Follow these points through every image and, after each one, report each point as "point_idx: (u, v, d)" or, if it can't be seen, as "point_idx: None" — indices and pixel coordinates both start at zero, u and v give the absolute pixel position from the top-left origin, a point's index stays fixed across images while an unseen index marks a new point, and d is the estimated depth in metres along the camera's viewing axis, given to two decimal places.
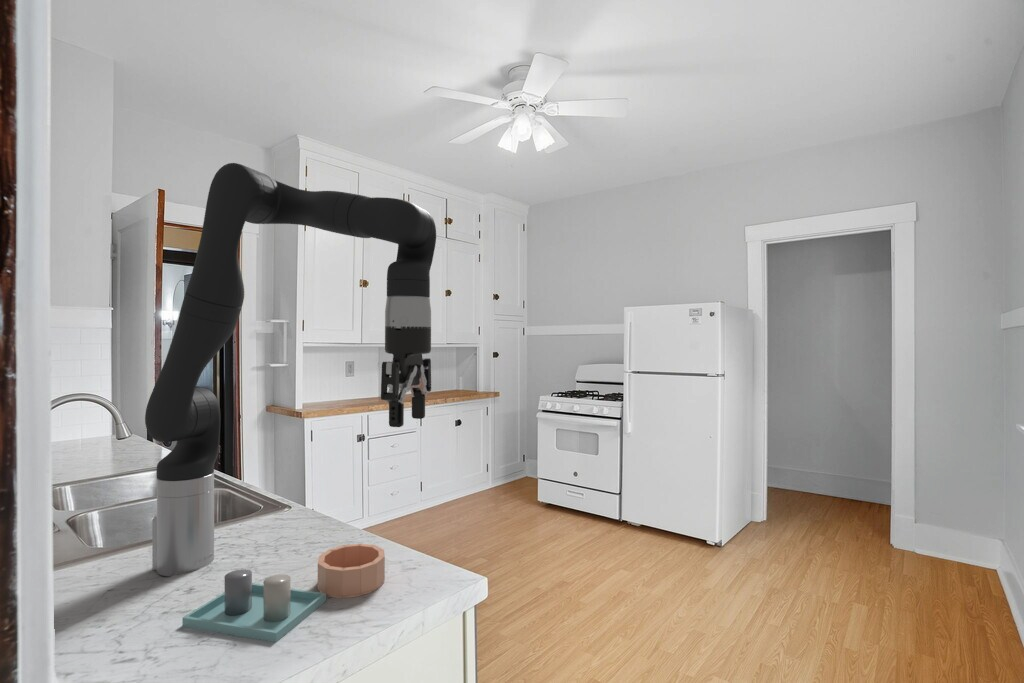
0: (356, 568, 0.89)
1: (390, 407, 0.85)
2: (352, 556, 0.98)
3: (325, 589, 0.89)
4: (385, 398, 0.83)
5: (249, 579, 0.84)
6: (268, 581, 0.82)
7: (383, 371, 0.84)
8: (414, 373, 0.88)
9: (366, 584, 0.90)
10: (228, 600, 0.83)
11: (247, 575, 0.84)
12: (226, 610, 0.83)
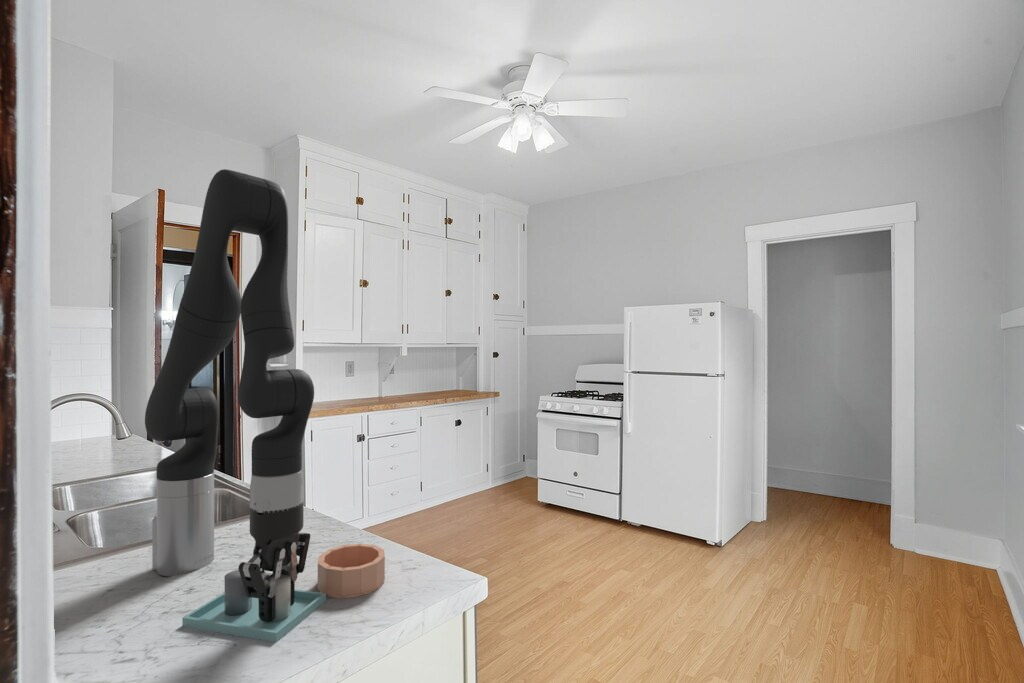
0: (356, 568, 0.89)
1: (259, 602, 0.80)
2: (352, 556, 0.98)
3: (325, 589, 0.89)
4: (251, 596, 0.78)
5: None
6: None
7: (242, 575, 0.77)
8: (282, 558, 0.81)
9: (366, 584, 0.90)
10: (228, 600, 0.83)
11: None
12: (226, 610, 0.83)
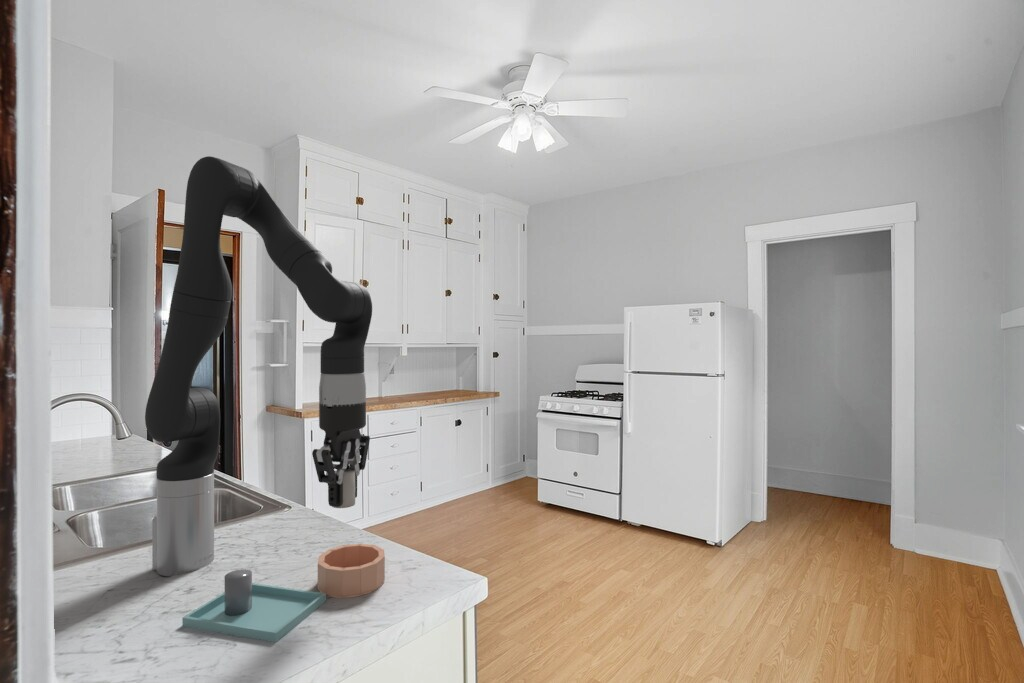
0: (356, 568, 0.89)
1: (329, 488, 0.88)
2: (352, 556, 0.98)
3: (325, 589, 0.89)
4: (323, 481, 0.87)
5: (249, 579, 0.84)
6: (335, 472, 0.91)
7: (315, 460, 0.85)
8: (348, 449, 0.89)
9: (366, 584, 0.90)
10: (228, 600, 0.83)
11: (247, 575, 0.84)
12: (226, 610, 0.83)
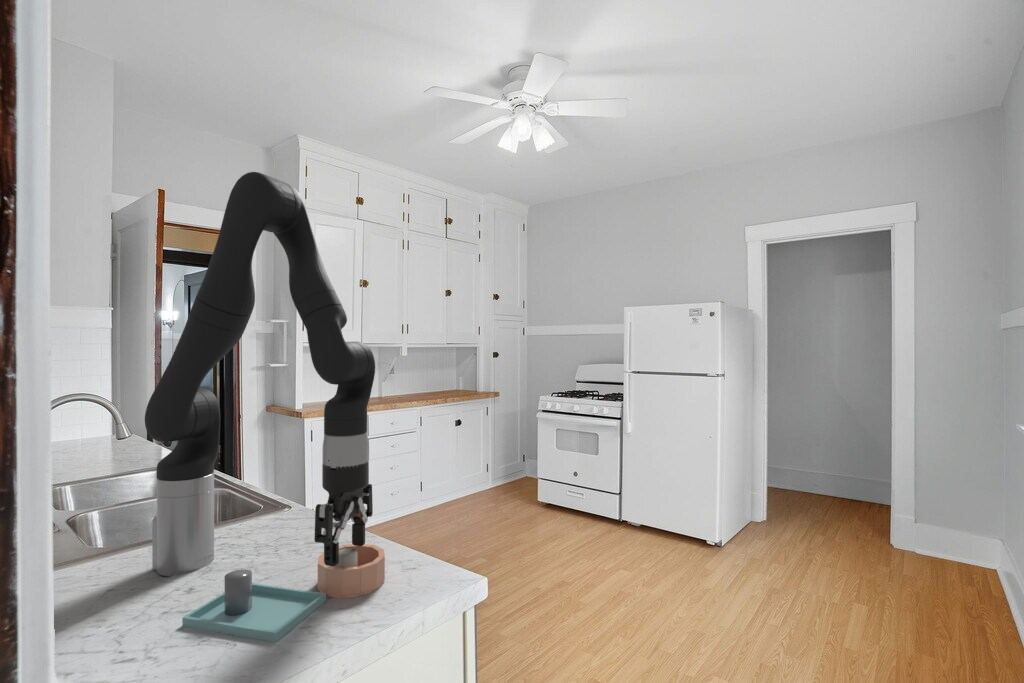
0: (356, 568, 0.89)
1: (325, 547, 0.87)
2: None
3: (325, 589, 0.89)
4: (319, 541, 0.85)
5: (249, 579, 0.84)
6: None
7: (317, 515, 0.86)
8: (350, 509, 0.90)
9: (366, 584, 0.90)
10: (228, 600, 0.83)
11: (247, 575, 0.84)
12: (226, 610, 0.83)
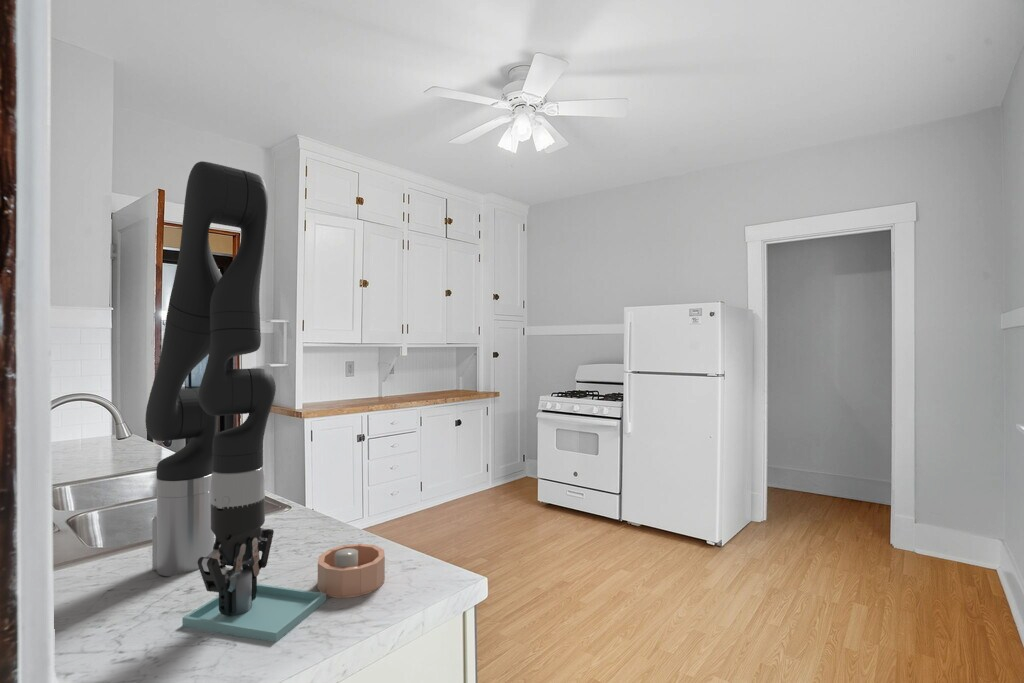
0: (356, 568, 0.89)
1: (220, 596, 0.81)
2: None
3: (325, 589, 0.89)
4: (211, 590, 0.80)
5: (249, 579, 0.84)
6: (339, 553, 0.92)
7: (201, 569, 0.79)
8: (242, 553, 0.83)
9: (366, 584, 0.90)
10: None
11: (247, 575, 0.84)
12: None
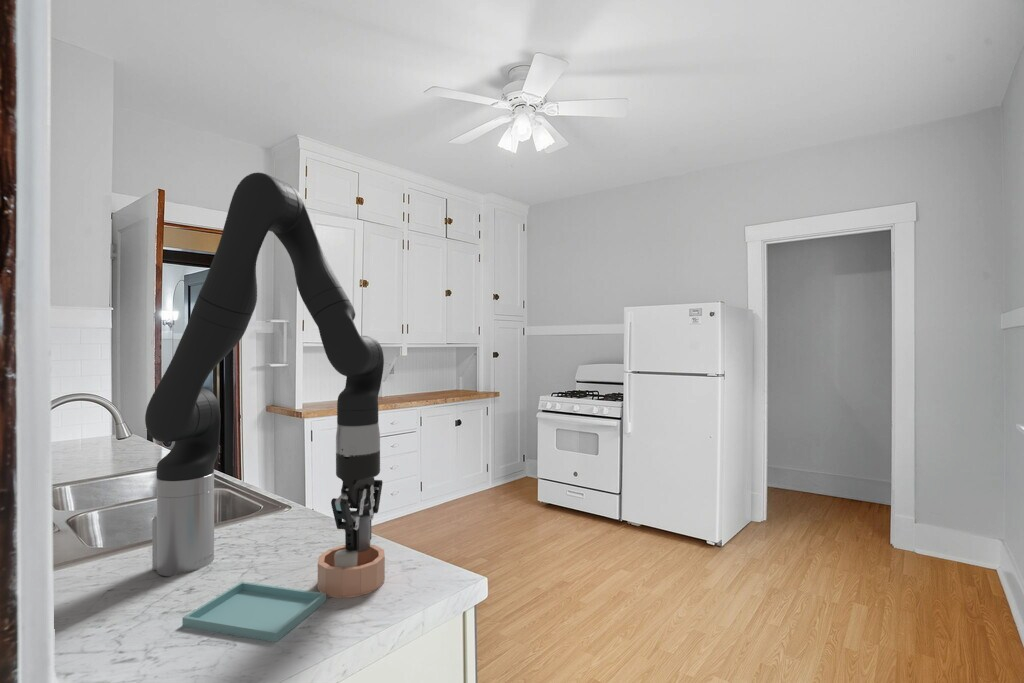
0: (356, 568, 0.89)
1: (346, 534, 0.93)
2: None
3: (325, 589, 0.89)
4: (341, 528, 0.91)
5: (369, 521, 0.96)
6: (338, 554, 0.92)
7: (333, 508, 0.90)
8: (364, 497, 0.94)
9: (366, 584, 0.90)
10: None
11: (367, 517, 0.96)
12: None
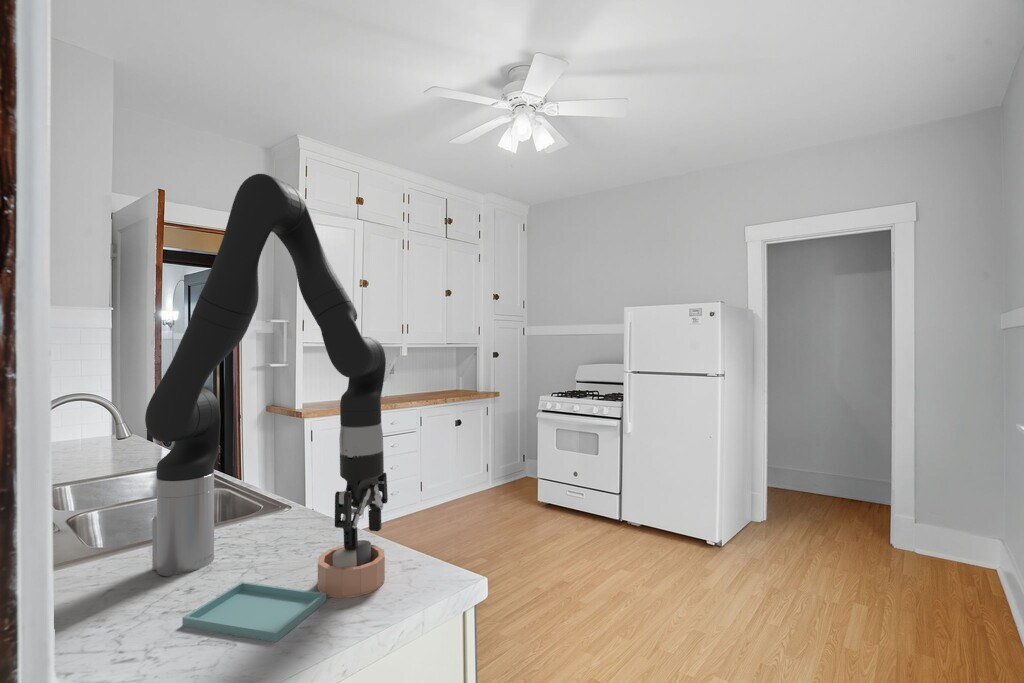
0: (356, 568, 0.89)
1: (344, 532, 0.92)
2: None
3: (325, 589, 0.89)
4: (339, 526, 0.90)
5: (369, 548, 0.96)
6: (337, 555, 0.91)
7: (336, 501, 0.90)
8: (367, 496, 0.95)
9: (366, 584, 0.90)
10: None
11: (368, 545, 0.96)
12: None
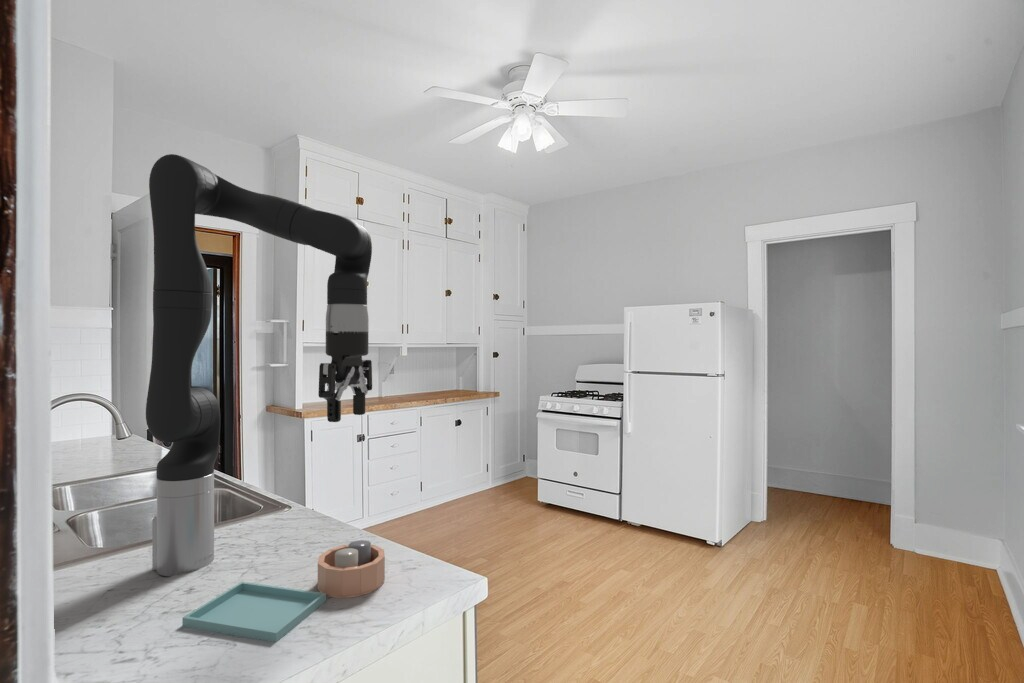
0: (356, 568, 0.89)
1: (328, 404, 0.95)
2: None
3: (325, 589, 0.89)
4: (322, 396, 0.93)
5: (369, 548, 0.96)
6: (339, 553, 0.92)
7: (320, 371, 0.93)
8: (351, 373, 0.97)
9: (366, 584, 0.90)
10: None
11: (368, 545, 0.96)
12: None
